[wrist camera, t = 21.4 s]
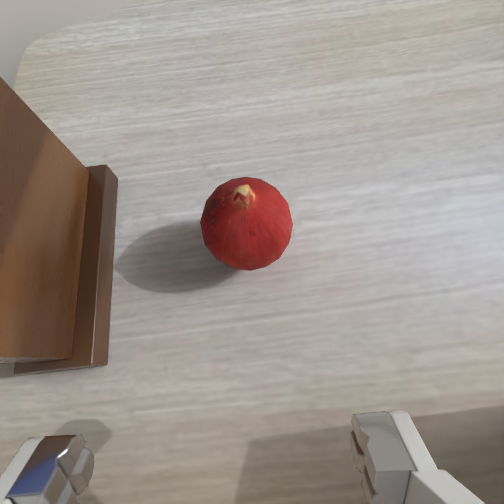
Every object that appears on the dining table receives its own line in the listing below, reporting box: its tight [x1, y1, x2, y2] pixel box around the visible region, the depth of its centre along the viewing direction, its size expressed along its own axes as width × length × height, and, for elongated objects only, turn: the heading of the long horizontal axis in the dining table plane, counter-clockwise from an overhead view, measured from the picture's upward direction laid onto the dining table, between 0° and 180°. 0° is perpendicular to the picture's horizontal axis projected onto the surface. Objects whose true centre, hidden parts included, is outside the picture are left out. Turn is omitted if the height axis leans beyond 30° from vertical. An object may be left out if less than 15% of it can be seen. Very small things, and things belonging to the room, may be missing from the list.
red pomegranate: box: [200, 177, 293, 271], centre depth 20 cm, size 6×6×8 cm
